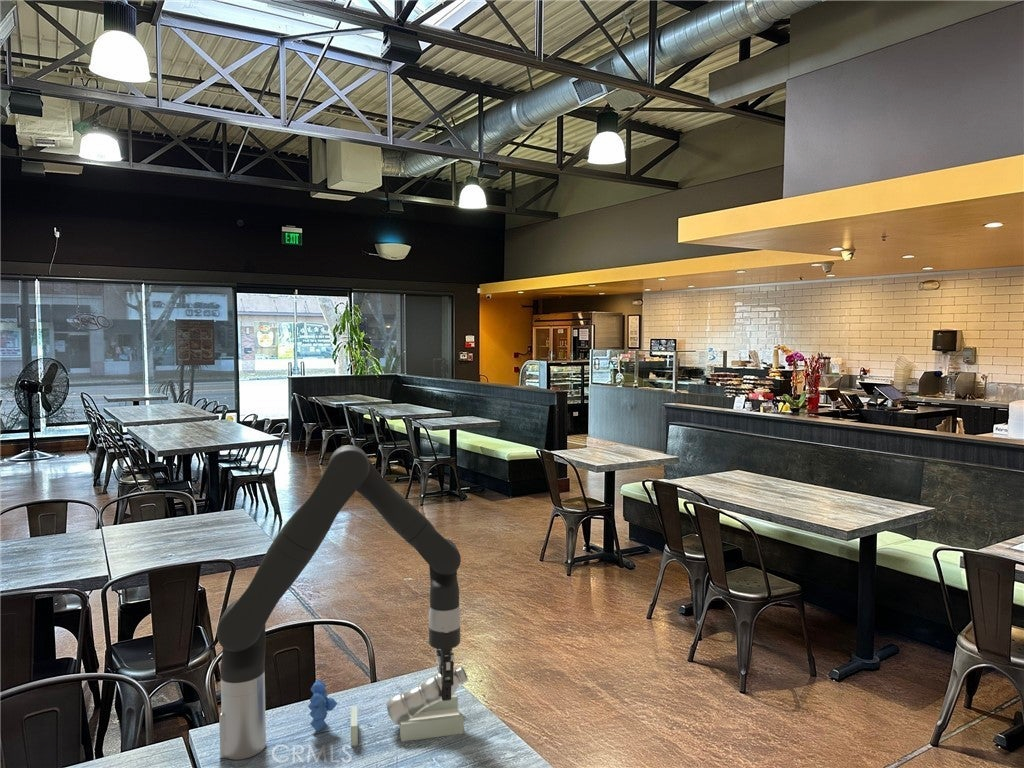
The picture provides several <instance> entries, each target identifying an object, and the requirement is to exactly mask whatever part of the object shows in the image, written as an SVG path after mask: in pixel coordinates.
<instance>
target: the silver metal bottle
mask: <svg viewBox="0 0 1024 768" xmlns="http://www.w3.org/2000/svg"><path fill="white" fill-rule="evenodd" d="M447 679H449V677H446V678H445V680H447ZM468 681H469V679H468V675H467V673H466V670H465V669H464V667H463V666H460V667H458V668H455V669H454V672H453V682H454V684H453V686H451V697H452V696H453V695H455V693H456V692H457V690H458V688H459V686H460V685H463V684H464V683H467V682H468ZM440 701H443V700H442V685H441V675H439V672H437V673H436V674H434V675H433V676H431V677H429V679H427V680H426V681H424V682H423V683H421V684H419V685H418V686H416V687H414V688H411V689H409V690H407V691H404V692H401V693H398V694H395V695H392V697H391V698H389V699H388V700H387V702H386V710H387V715H388V717H389V719H390V720H391V721H392V723H393V724H394V725H400V724H401V722H403V721H408V720H409V719H411V718H412V716H414V715H416V714H417V713H419V712H420V711H422V710H423V709H425V708H427V707H429V706H431V705H433V704H435V703H437V702H440Z"/></svg>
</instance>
